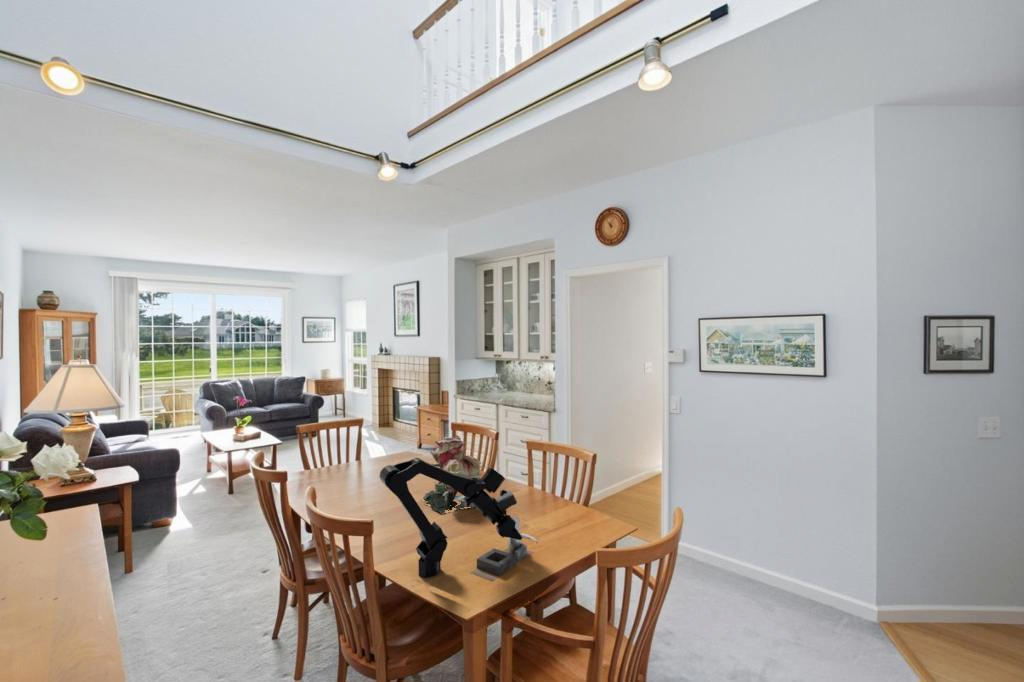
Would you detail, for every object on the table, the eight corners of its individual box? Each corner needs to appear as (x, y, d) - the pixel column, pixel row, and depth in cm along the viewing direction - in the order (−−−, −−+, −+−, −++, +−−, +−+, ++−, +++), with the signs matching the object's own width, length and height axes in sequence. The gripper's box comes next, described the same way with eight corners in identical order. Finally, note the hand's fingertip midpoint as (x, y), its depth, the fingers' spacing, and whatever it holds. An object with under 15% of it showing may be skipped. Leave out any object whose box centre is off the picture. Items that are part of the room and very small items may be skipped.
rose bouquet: (446, 518, 194) (445, 446, 194) (415, 499, 218) (414, 435, 217) (496, 505, 210) (496, 438, 210) (463, 488, 233) (462, 428, 233)
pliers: (512, 543, 168) (498, 527, 181) (512, 548, 168) (498, 532, 181) (537, 538, 171) (521, 523, 185) (537, 543, 171) (521, 527, 185)
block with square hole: (492, 586, 141) (492, 571, 141) (469, 577, 146) (469, 563, 146) (533, 556, 160) (533, 543, 160) (512, 549, 165) (512, 537, 165)
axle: (515, 558, 156) (515, 522, 156) (506, 555, 158) (505, 519, 158) (522, 553, 159) (521, 518, 159) (512, 550, 161) (512, 515, 161)
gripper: (508, 494, 148) (542, 525, 151) (495, 477, 166) (526, 505, 169) (484, 521, 146) (519, 552, 149) (474, 501, 164) (504, 529, 167)
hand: (517, 533), depth 159 cm, fingers open, 9 cm apart
